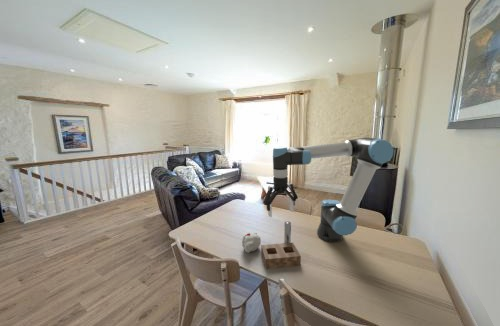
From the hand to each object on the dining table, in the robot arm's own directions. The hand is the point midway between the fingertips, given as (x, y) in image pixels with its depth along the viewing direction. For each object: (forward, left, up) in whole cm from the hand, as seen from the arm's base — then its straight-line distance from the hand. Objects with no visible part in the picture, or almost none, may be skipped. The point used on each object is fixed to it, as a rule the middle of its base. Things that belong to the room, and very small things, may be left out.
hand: (281, 213), depth 112 cm
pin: (-4, -2, -22) cm, 22 cm away
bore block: (+3, +8, -22) cm, 23 cm away
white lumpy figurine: (+17, -4, -22) cm, 28 cm away
